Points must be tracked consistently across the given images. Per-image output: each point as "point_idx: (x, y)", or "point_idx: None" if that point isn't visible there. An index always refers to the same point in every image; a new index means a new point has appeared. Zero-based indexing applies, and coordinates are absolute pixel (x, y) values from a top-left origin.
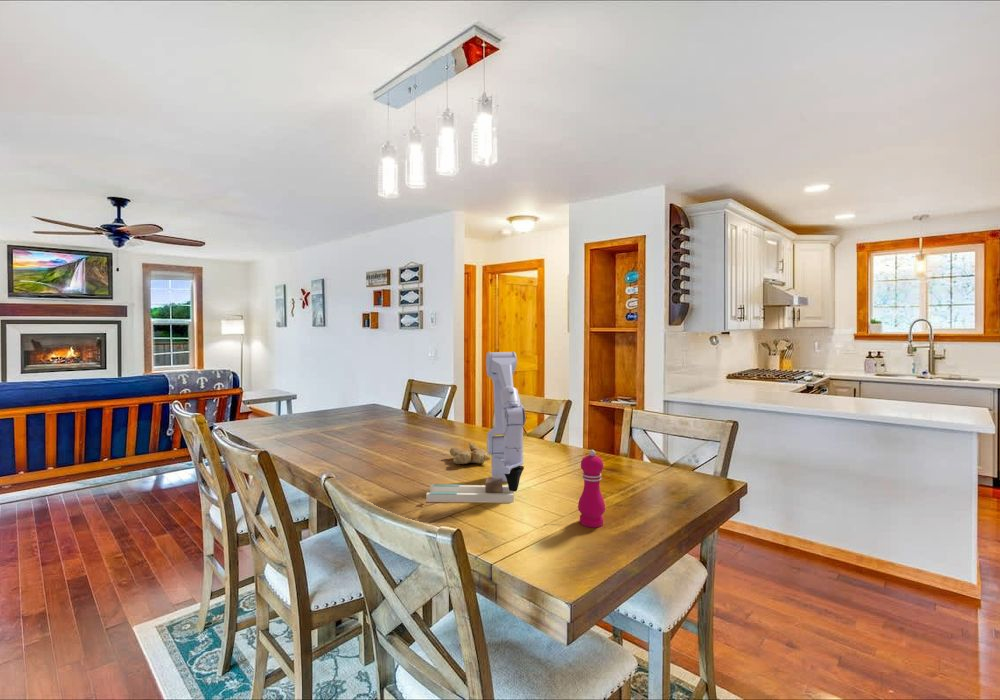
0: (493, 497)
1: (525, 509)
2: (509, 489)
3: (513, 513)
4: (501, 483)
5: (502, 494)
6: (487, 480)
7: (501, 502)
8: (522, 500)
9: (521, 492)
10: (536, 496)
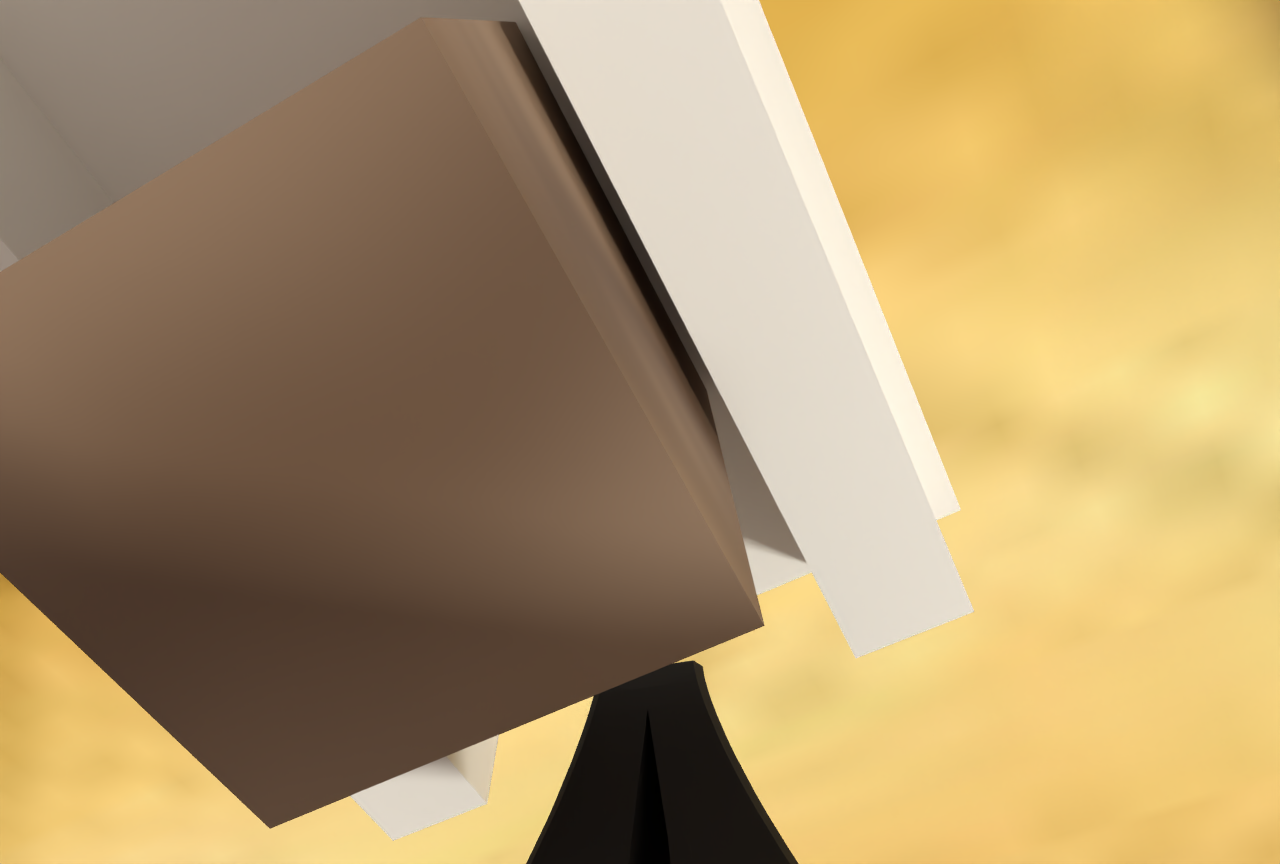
0: None
1: (394, 860)
2: (595, 698)
3: (154, 808)
4: (264, 808)
5: None
6: (144, 285)
7: None
8: None
9: (1095, 541)
10: (972, 787)
